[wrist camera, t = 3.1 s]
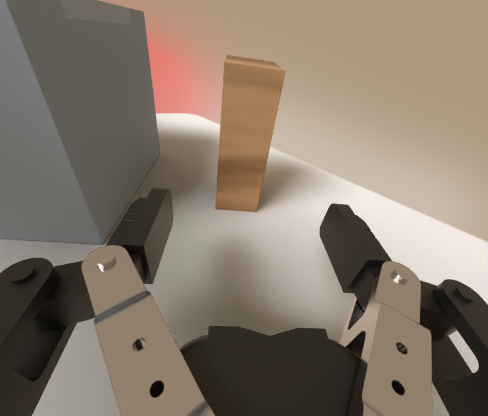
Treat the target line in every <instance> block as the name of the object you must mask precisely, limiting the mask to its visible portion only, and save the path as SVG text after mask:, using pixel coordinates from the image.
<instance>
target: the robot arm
mask: <svg viewBox="0 0 488 416" xmlns="http://www.w3.org/2000/svg"><path fill="white" fill-rule="evenodd" d="M172 222H173V210H172V200H171V191H170V189H159V188H153V189H152V190H151V192H150V194H149V195H148V197H147V198H139V199H138V200H136V201H135V202H134V203H132V204H131V206H130V207H129V209H128V211H127V214H125V216H124V217H123V220H121V222H120V224H119V225H118V227H117V229H116V230H115V232H114V234H113V235H112V237H111V238H110V240H109V242H108V243H107V245H106V246H104V247H101V248H99V249H96V250H95V251H93V252H91V253H90V254H89V255H88V256H87V257H86V258H85V259H84V261H80V262H76V263H70V264H65V265H60V266H55V267H53V265H52V264H51V262H50V261H49V260H47V259H44V258H31V259H26V260H23V261H20V262H18V263H15V264H13V265H11V266H10V267H8V268H6V269H5V270H4V271H2V272H1V273H0V416H32V414H33V412H34V410H35V408H36V406H37V404H38V402H39V400H40V398H41V396H42V393H43V391H44V389H45V387H46V385H47V383H48V381H49V379H50V377H51V375H52V373H53V371H54V369H55V367H56V365H57V363H58V361H59V358H60V356H61V354H62V352H63V350H64V348H65V346H66V344H67V342H68V340H69V338H70V336H71V334H72V332H73V330H74V328H75V326H76V323H78V322H81V321H85V320H89V319H92V318H96V319H95V320H94V323H95V327H96V331H97V335H98V338H99V342H100V345H101V349H102V352H103V355H104V359H105V362H106V366H107V369H108V373H109V376H110V380H111V383H112V387H113V390H114V394H115V397H116V401H117V404H118V408H119V411H120V415H121V416H432V382H433V384H434V386H435V388H436V390H437V392H438V394H439V396H440V398H441V399H442V401H443V403H444V405H445V407H446V409H447V411H448V413H449V415H450V416H488V305H487V303H486V302H485V301H484V300H483V299H482V298H481V297H480V296H479V295H478V294H477V293H476V292H475V291H474V290H472V289H471V288H470V287H468V286H466V285H465V284H463V283H461V282H458V281H455V280H451V279H447V280H444V281H443V282H442V283H441V284H439V285H438V286H436V285H433V284H430V283H426V282H423V281H420V280H419V279H418V277H417V276H416V275H415V273H414V272H412V271H411V270H410V269H409V268H407V267H406V266H404V265H402V264H400V263H397V262H393V261H392V260H391V259H390V257H389V256H388V254H387V253H386V252H385V250H384V249H383V247H382V246H381V244H380V243H379V241H378V240H377V238H375V236H374V234H373V233H372V232H371V230H370V228H369V227H368V225H367V224H366V223H365V222H364V221H363V220H362V219H361V218H359V217H358V216H357V215H355V214H354V212H353V211H352V209H351V208H350V206H349V205H345V204H331V205H330V206H329V208H328V211H327V213H326V215H325V217H324V219H323V221H322V224H321V226H320V237H321V240H322V242H323V244H324V247H325V249H326V252H327V254H328V256H329V259H330V261H331V264H332V266H333V268H334V271H335V273H336V275H337V278H338V280H339V283H340V285H341V287H342V290H343V292H344V293H354V294H355V296H356V298H355V299H354V300H353V303H352V306H351V309H350V312H349V315H348V318H347V321H346V325H345V328H344V331H343V334H342V336H341V338H340V340H339V341H338V342H336V341H333V340H331V339H329V338H328V336H327V333H326V330H325V329H316V328H296V329H293V330H289V331H286V332H282V333H279V334H275V335H271V336H268V335H264V334H261V333H258V332H254V331H251V330H248V329H245V328H241V327H230V326H209V331H208V335H205V336H201V337H199V338H196V339H194V340H192V341H191V342H189V343H187V344H186V345H184V346H183V347H182V348H180V349H179V348H178V346H177V344H176V342H175V340H174V338H173V336H172V334H171V332H170V330H169V328H168V326H167V324H166V322H165V320H164V318H163V316H162V314H161V312H160V311H159V309H158V307H157V305H156V303H155V301H154V299H153V297H152V295H151V293H150V292H149V291H147V290H146V288H145V286H144V284H153V281H154V278H155V275H156V272H157V269H158V266H159V263H160V260H161V257H162V254H163V251H164V248H165V245H166V242H167V239H168V236H169V233H170V230H171V227H172ZM457 330H458V332H459V333H460V335H461V336H462V338H463V339H464V340H465V342H466V343H467V345H468V346H469V348H470V349H471V350H472V352H473V353H474V355H475V356H476V358H477V360H478V363H479V369H478V371H477V372H476V373H472V372H471V370H470V369H469V367H468V366H467V364H466V362H465V361H464V359H463V358H462V356H461V355H460V353H459V352H458V350H457V349H456V347H455V346H454V344H453V343H452V341H451V340H450V338H449V337H448V335H450V334H452V333H453V332H455V331H457Z"/></svg>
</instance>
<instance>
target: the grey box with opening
mask: <svg viewBox="0 0 488 416" xmlns="http://www.w3.org/2000/svg"><path fill="white" fill-rule="evenodd" d="M145 28H146V27H145V19H144V12H142V11H139V10H134V9H130V8H126V7H122V6H118V5H114V4H110V3H106V2H102V1H98V0H0V239H16V240H34V241H51V242H68V243H85V244H103V243H104V242H105V240H106V239H107V237H108V235H109V234H110V232H111V231H112V229H113V227H114V226H115V224H116V223H117V221H118V219H119V218H120V216H121V215H122V213H123V212H124V210H125V208H126V207H127V205H128V204H129V202H130V200H131V199H132V197H133V196H134V194H135V193H136V191H137V189H138V188H139V186H140V185H141V183H142V181H143V180H144V178H145V177H146V175H147V173H148V172H149V170H150V169H151V167H152V166H153V164H154V162H155V161H156V159H157V158H158V156H159V154H160V146H159V138H158V129H157V121H156V112H155V104H154V95H153V87H152V79H151V71H150V62H149V54H148V44H147V36H146V29H145Z"/></svg>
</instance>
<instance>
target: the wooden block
mask: <svg viewBox="0 0 488 416" xmlns="http://www.w3.org/2000/svg"><path fill="white" fill-rule="evenodd" d="M284 76H285V70H283V69H282V68H281V67H279V66H278V65H277V64H275V63H274V62H270V61H264V60H257V59H250V58H244V57H237V56H230V55H227V57H226V59H225V62H224V76H223V93H222V110H221V127H220V144H219V161H218V178H217V195H216V209H223V210H235V211H248V212H256V211H257V207H258V202H259V197H260V192H261V187H262V182H263V178H264V173H265V168H266V163H267V158H268V153H269V149H270V143H271V139H272V134H273V129H274V125H275V119H276V115H277V110H278V105H279V100H280V96H281V90H282V86H283V81H284Z"/></svg>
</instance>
